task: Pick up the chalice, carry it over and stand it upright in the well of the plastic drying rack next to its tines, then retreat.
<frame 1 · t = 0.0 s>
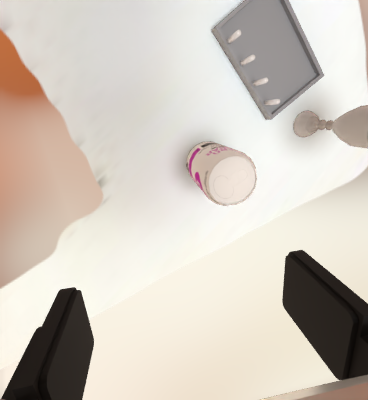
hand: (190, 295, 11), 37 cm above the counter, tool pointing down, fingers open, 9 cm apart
drying rack: (267, 55, 43), on the counter
supplement can: (206, 162, 48), on the counter
chalice: (304, 124, 48), on the counter
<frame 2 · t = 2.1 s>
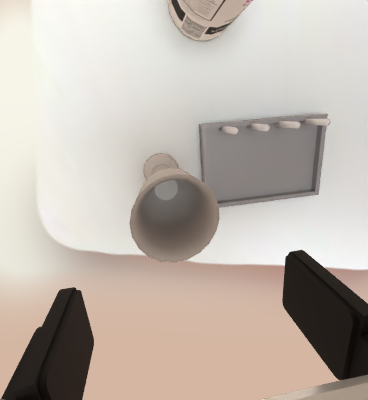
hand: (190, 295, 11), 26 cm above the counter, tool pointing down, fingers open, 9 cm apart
drying rack: (259, 160, 37), on the counter
supplement can: (200, 3, 30), on the counter
chalice: (161, 170, 35), on the counter
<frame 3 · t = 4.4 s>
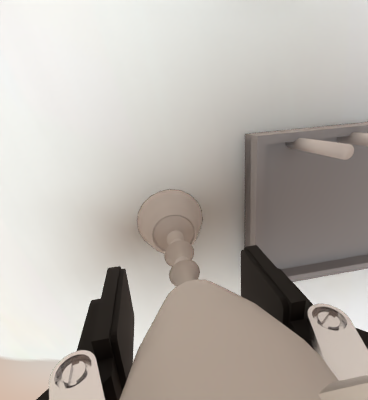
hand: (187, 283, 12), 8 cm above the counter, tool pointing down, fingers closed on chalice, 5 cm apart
drying rack: (346, 197, 21), on the counter
chalice: (170, 220, 19), on the counter, touching gripper
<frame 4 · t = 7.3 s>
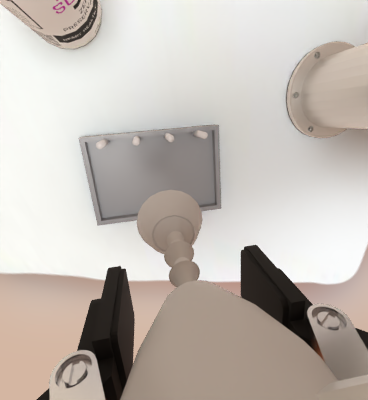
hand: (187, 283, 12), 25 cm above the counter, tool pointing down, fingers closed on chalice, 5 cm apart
drying rack: (155, 173, 35), on the counter
supplement can: (65, 9, 28), on the counter
chalice: (169, 220, 19), point 17 cm above the counter, touching gripper
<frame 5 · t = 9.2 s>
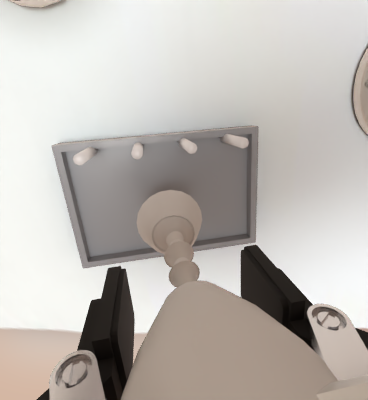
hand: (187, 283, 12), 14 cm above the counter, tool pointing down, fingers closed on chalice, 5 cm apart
drying rack: (165, 194, 25), on the counter
chalice: (169, 220, 19), point 7 cm above the counter, touching gripper
when the fingers open (10 cm above the counter, at t = 10.6 s): chalice drops 1 cm, resting on drying rack.
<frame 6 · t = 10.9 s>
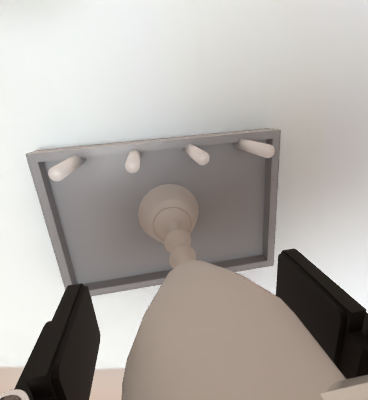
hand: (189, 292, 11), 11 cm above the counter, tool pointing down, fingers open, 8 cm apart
drying rack: (167, 209, 21), on the counter
chalice: (168, 212, 20), point 1 cm above the counter, touching drying rack
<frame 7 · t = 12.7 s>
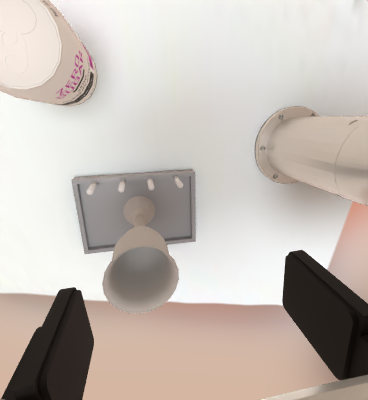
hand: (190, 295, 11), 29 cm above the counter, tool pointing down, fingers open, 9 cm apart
drying rack: (139, 209, 40), on the counter
supplement can: (65, 73, 32), on the counter
chalice: (139, 210, 39), point 1 cm above the counter, touching drying rack
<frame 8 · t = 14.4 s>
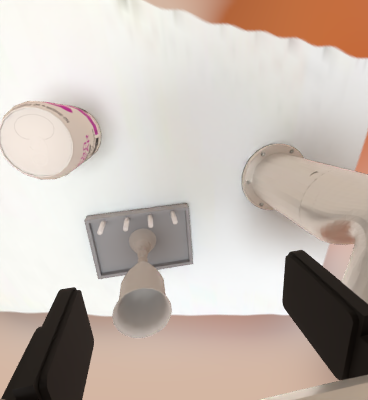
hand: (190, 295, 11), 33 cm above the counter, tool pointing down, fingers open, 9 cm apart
drying rack: (142, 238, 46), on the counter
supplement can: (75, 134, 39), on the counter
chalice: (142, 240, 45), point 1 cm above the counter, touching drying rack
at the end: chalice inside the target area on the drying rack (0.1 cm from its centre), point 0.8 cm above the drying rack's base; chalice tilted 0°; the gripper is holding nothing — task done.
